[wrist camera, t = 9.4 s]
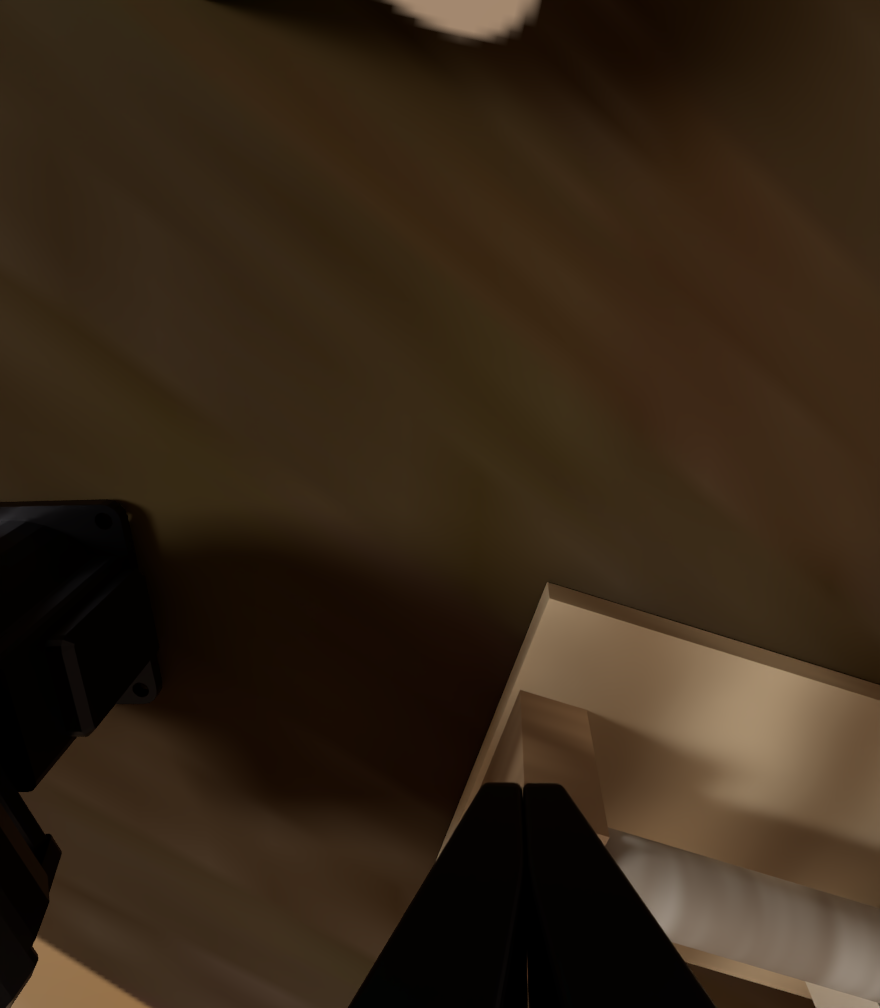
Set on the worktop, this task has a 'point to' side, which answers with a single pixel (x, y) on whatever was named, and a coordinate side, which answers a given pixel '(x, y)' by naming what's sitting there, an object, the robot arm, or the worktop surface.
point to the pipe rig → (707, 785)
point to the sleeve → (837, 998)
